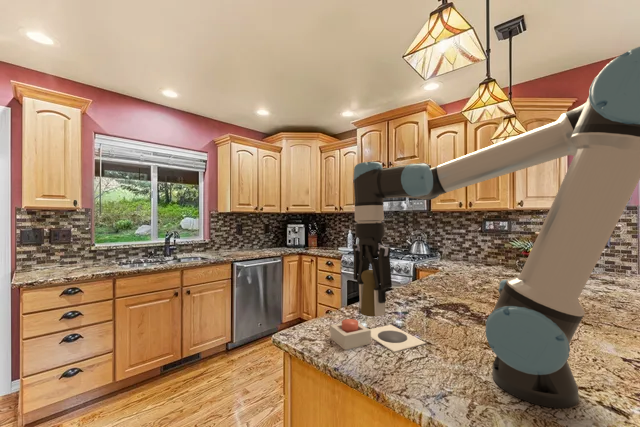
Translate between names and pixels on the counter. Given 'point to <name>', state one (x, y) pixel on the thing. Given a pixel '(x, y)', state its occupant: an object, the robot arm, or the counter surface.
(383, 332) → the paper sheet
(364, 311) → the brown pepper grinder
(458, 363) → the counter surface
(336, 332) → the button housing
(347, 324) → the button
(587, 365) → the counter surface
